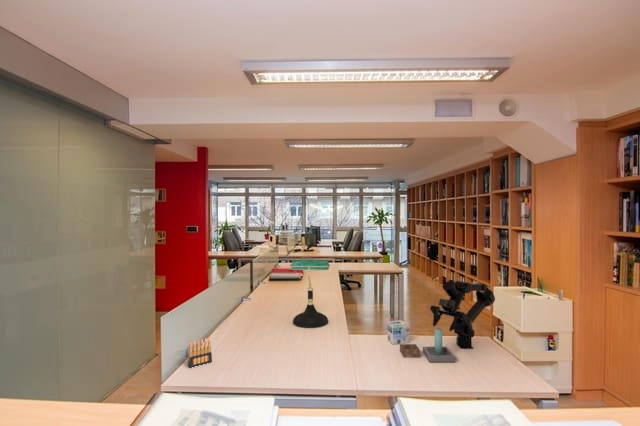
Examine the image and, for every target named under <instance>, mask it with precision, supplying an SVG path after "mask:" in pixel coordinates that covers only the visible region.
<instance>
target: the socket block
mask: <svg viewBox="0 0 640 426" xmlns="http://www.w3.org/2000/svg"><path fill="white" fill-rule="evenodd" d="M399 352H400V354H401V356H402V357H403V358H421V351H420V348H419V347H418V345H417V344H416V343H403V344H399Z"/></svg>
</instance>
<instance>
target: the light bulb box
mask: <svg viewBox="0 0 640 426" xmlns="http://www.w3.org/2000/svg"><path fill="white" fill-rule="evenodd" d="M387 341H388V342H389V343H390V344H391V345H400V344H411V323H410V322H408V320H406V319H400V320H388V321H387Z"/></svg>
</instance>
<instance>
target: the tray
mask: <svg viewBox="0 0 640 426" xmlns="http://www.w3.org/2000/svg"><path fill="white" fill-rule="evenodd" d="M422 354H423V355H424V357H425V358H426V359H427V361H428V362H429V363H430V364H432V363H435V364H439V363H441V364H452V363H453V364H454V363H456V356H455V354H454V353H453V352H452V351H451V350H450V348H449V347H448V346H442V356H435V346H422Z"/></svg>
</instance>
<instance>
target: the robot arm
mask: <svg viewBox="0 0 640 426" xmlns="http://www.w3.org/2000/svg"><path fill="white" fill-rule="evenodd" d="M442 290H443V291H444V292H445V293H446V295H447V296H448V299H443V298H440V299H439V301H438V305H434V304H433V305H431V306H430V308H429V310H430V311H431V313H432V315H433V321H432V322H433V323H432V326H433V327H436V326H437V324H438V323H439V321H440V320H441V318H442V315H445V316H449V317H453V321H452V322H451V324H450V327H449V329H448V330H449V331H450V332H452V331H454V334H457V336H455V337H456V339H455V341H456V343H455V344H456V346H458V348H459V349H474V347H473V346H472V338H474V337H475V332H476V331H475V330H474V329H473V323H474V321H476V319H477V318H478V316H479V315H480V314H481V313H482V312H483V310H484V309H485V308H487V307H491V305H492V304H494V303H495V300H496V297H495V294H494V292H493V291H492V290H491V289H490V288H489V287H488V285H487V284H485V283H484V282H483V283H482V282H481V283H480V282H468V281H461V280H453V279H449V280H448V281H446V282H444V283H442ZM471 292H475V296H476V302H475V303H474V304H473V305H472V306H471V308H469V310H468V311H467V312H466V313H465V312H464V311H459V310H460V309H461V307H460V305H461V304H462V301H466V298H465V295H464V294H470V293H471ZM440 306H441V307H440ZM441 308H442V309H441Z"/></svg>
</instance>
